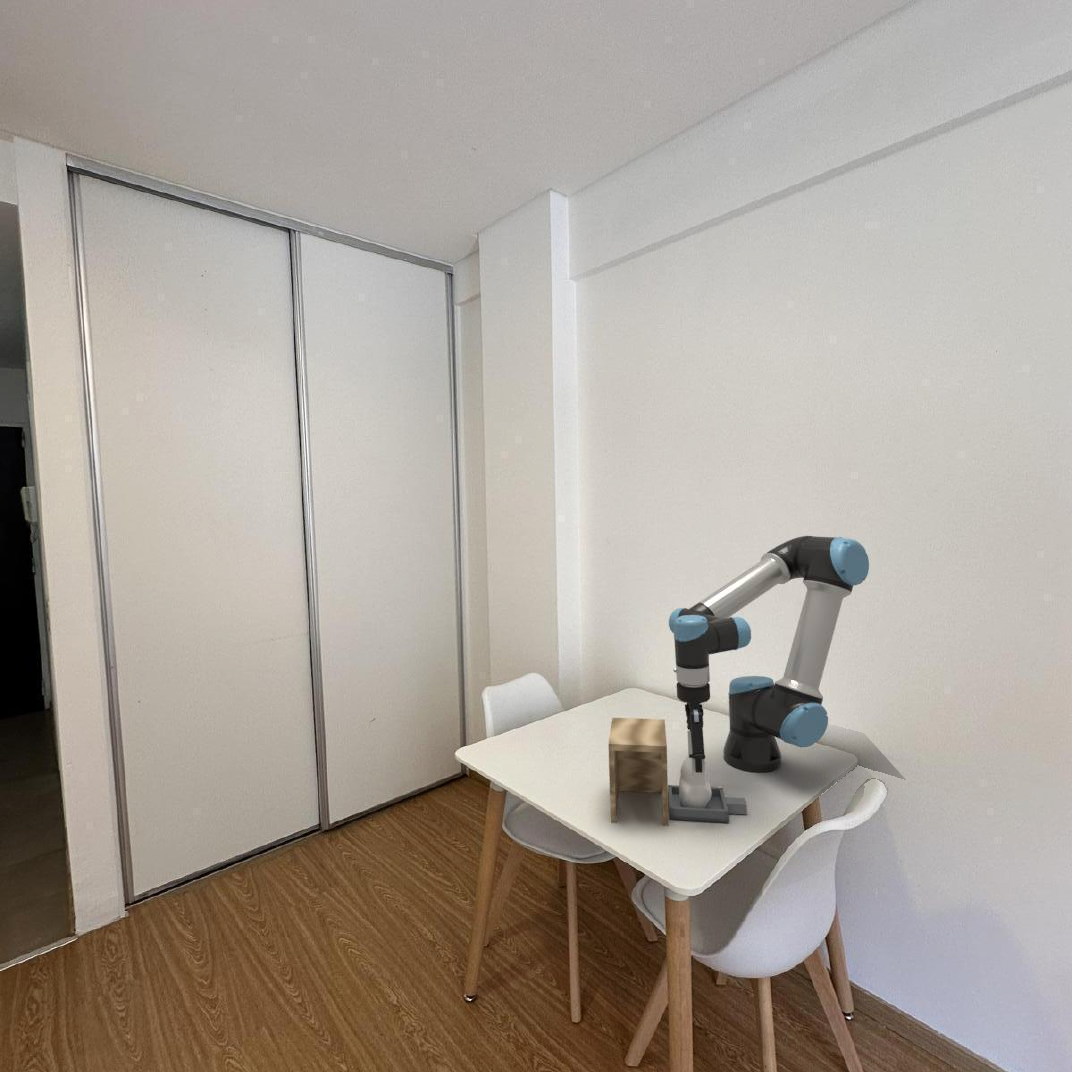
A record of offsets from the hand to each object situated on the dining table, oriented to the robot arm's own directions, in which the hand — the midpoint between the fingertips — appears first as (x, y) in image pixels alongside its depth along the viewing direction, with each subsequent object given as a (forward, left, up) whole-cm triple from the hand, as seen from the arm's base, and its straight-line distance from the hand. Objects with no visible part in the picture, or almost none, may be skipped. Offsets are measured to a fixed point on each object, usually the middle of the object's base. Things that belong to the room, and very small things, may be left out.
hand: (696, 770), depth 141 cm
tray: (-2, 0, -9) cm, 9 cm away
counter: (+13, 0, -9) cm, 16 cm away
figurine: (+1, 0, -9) cm, 9 cm away
